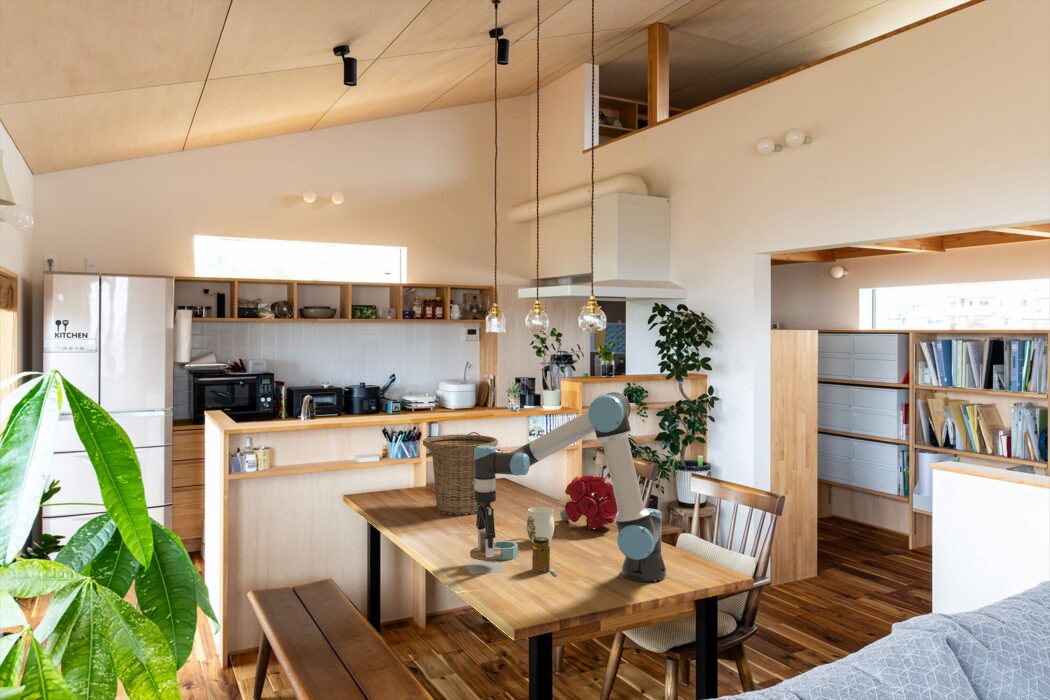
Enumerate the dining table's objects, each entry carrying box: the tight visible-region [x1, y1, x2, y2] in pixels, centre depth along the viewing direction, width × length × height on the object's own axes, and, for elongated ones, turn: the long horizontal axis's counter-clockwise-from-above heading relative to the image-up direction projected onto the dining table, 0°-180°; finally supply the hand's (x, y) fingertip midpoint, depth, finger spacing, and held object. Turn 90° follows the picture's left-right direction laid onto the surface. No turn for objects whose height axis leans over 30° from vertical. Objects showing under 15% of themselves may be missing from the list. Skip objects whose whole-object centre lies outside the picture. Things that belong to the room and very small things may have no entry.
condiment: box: [531, 537, 557, 576], centre depth 253 cm, size 7×8×12 cm
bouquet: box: [559, 475, 618, 531], centre depth 315 cm, size 22×24×30 cm
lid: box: [469, 531, 502, 561], centre depth 256 cm, size 11×11×8 cm
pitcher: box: [526, 506, 555, 545], centre depth 291 cm, size 11×18×14 cm, turn 31°
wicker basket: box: [422, 434, 499, 516], centre depth 341 cm, size 35×35×33 cm
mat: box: [463, 560, 506, 575], centre depth 257 cm, size 12×12×1 cm
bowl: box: [494, 540, 519, 561], centre depth 270 cm, size 10×10×5 cm
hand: (485, 552), depth 256 cm, fingers closed on lid, 11 cm apart
